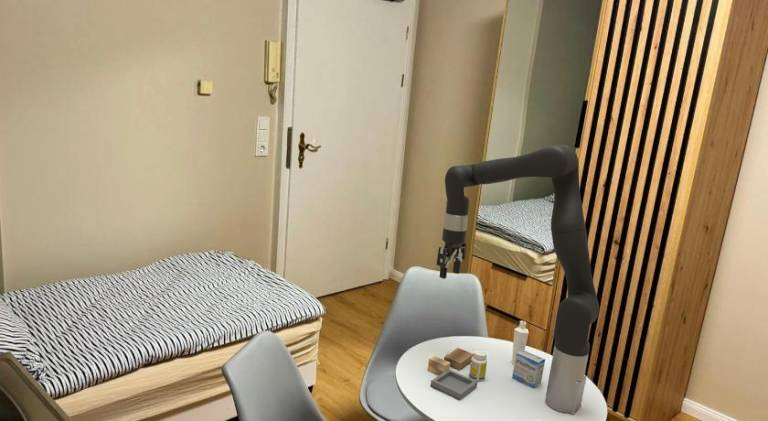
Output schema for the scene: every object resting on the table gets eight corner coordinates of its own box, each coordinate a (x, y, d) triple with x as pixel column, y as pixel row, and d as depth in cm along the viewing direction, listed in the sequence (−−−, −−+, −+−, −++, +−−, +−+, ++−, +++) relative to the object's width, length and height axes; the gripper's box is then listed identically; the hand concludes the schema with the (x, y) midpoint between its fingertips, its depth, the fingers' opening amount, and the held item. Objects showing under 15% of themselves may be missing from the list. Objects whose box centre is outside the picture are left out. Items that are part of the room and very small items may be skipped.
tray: (476, 387, 162) (477, 381, 162) (459, 400, 154) (460, 394, 154) (448, 375, 168) (448, 369, 168) (430, 386, 160) (431, 380, 160)
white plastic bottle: (508, 360, 182) (515, 318, 179) (521, 362, 181) (528, 320, 178) (509, 366, 177) (516, 323, 174) (523, 368, 177) (530, 325, 174)
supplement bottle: (483, 374, 170) (487, 350, 169) (485, 382, 166) (488, 357, 164) (468, 372, 171) (472, 348, 169) (469, 380, 166) (472, 355, 164)
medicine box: (511, 378, 170) (515, 352, 168) (518, 374, 173) (522, 348, 171) (534, 389, 165) (538, 362, 163) (541, 384, 168) (545, 358, 166)
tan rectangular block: (449, 374, 168) (450, 362, 168) (443, 377, 166) (445, 365, 165) (432, 367, 172) (434, 355, 171) (427, 370, 170) (428, 358, 169)
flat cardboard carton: (472, 362, 179) (473, 354, 178) (459, 372, 171) (460, 363, 171) (456, 356, 182) (457, 347, 181) (443, 365, 175) (444, 356, 174)
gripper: (454, 232, 167) (448, 283, 170) (476, 226, 178) (470, 274, 181) (433, 227, 171) (428, 277, 175) (456, 222, 183) (450, 268, 186)
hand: (449, 275), depth 178 cm, fingers open, 8 cm apart
